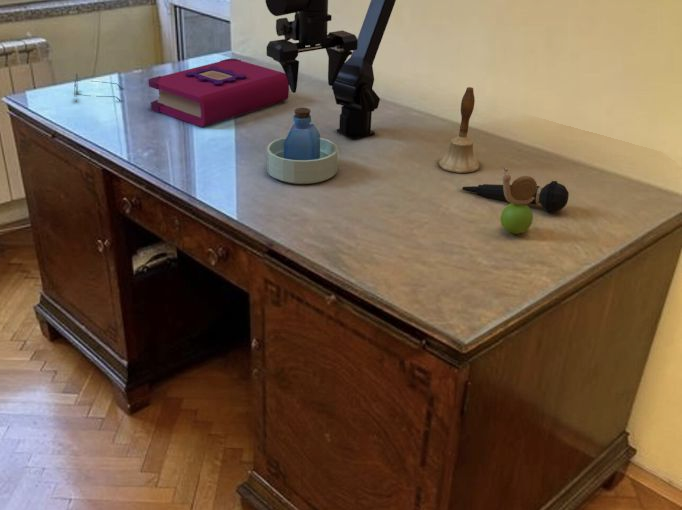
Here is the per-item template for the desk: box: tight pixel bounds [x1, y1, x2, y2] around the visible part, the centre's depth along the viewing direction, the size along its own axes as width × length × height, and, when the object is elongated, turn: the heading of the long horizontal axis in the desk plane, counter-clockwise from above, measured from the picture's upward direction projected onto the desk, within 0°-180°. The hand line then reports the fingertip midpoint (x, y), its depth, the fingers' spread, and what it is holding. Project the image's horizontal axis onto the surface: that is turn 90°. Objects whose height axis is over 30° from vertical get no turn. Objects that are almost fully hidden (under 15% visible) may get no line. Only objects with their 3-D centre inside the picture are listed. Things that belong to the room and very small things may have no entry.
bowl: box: [266, 136, 339, 185], centre depth 156 cm, size 14×14×5 cm
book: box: [147, 58, 290, 128], centre depth 190 cm, size 21×28×8 cm
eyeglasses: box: [73, 72, 122, 102], centre depth 196 cm, size 11×13×5 cm
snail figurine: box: [500, 166, 538, 235], centre depth 132 cm, size 5×6×12 cm
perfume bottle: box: [284, 107, 321, 160], centre depth 154 cm, size 6×6×12 cm
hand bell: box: [438, 86, 480, 174], centre depth 156 cm, size 8×8×16 cm
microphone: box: [461, 180, 570, 214], centre depth 145 cm, size 6×6×20 cm
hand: (312, 88), depth 160 cm, fingers open, 9 cm apart
